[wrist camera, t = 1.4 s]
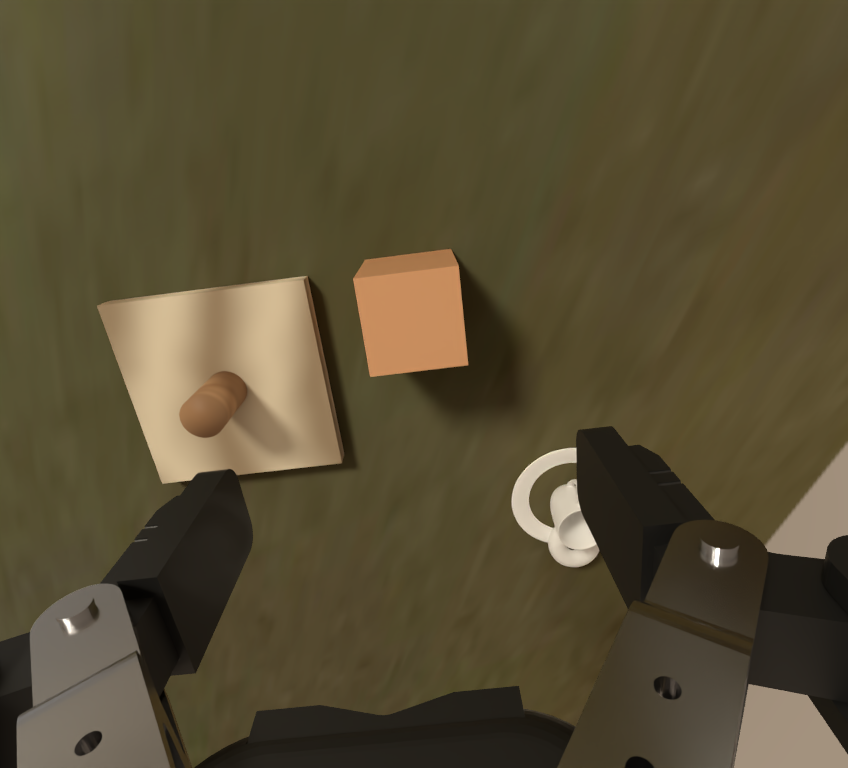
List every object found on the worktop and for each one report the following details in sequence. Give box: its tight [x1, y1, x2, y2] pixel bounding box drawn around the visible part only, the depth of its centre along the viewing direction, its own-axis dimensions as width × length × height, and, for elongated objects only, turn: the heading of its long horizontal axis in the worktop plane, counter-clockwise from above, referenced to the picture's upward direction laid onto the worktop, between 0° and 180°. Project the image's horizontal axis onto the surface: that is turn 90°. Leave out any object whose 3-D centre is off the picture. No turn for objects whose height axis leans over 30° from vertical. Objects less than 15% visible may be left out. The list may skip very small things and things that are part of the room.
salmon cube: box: [353, 249, 468, 377], centre depth 28 cm, size 5×5×6 cm
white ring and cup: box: [512, 448, 599, 567], centre depth 35 cm, size 9×8×4 cm
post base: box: [97, 276, 344, 484], centre depth 30 cm, size 12×12×5 cm
